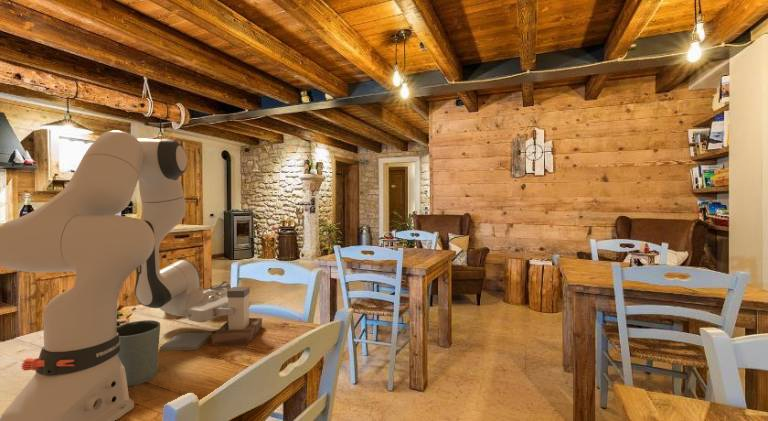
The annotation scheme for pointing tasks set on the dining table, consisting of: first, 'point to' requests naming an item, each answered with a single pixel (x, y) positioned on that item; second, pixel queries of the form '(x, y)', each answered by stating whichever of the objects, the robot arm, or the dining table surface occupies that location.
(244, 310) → the plug
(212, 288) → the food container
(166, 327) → the dining table surface
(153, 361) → the grey green bucket
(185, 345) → the mat
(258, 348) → the dining table surface
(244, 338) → the socket block
